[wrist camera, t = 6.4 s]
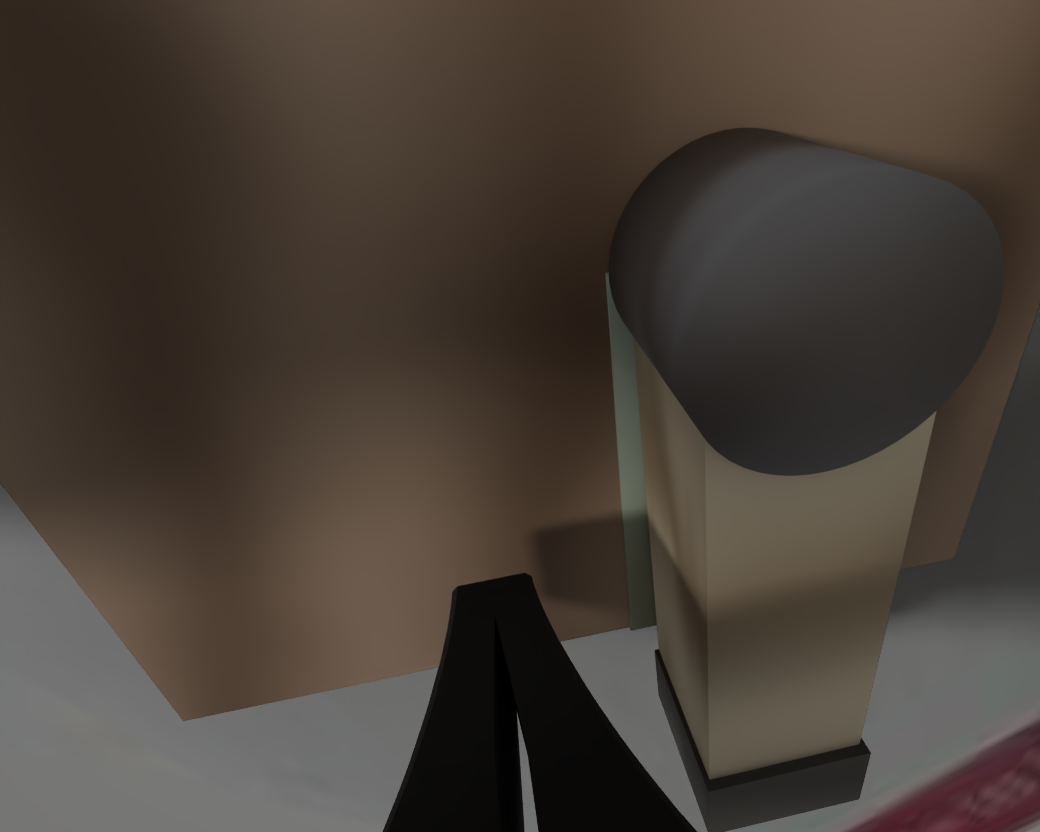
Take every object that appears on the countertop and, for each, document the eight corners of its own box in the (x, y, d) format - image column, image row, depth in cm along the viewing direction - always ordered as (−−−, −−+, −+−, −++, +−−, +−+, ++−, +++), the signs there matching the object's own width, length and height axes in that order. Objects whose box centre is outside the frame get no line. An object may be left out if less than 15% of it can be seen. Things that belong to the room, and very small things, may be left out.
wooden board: (202, 663, 15) (182, 725, 14) (-602, -528, 6) (-926, -703, 4) (911, 516, 16) (957, 561, 14) (1255, -757, 6) (1480, -968, 5)
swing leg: (596, 157, 9) (678, 216, 6) (850, 102, 9) (1045, 137, 6) (650, 696, 15) (699, 838, 13) (790, 663, 16) (868, 796, 13)
